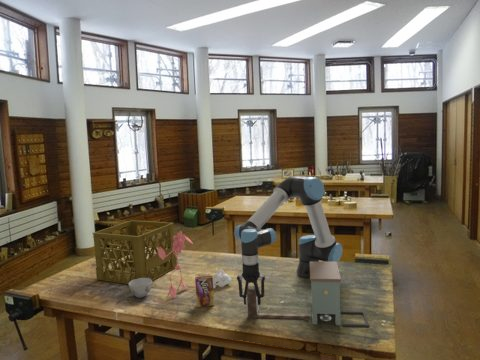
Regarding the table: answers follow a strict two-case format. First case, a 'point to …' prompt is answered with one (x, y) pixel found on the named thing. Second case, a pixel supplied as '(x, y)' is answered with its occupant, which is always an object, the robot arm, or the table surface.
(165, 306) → the table surface
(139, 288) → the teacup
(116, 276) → the milk crate
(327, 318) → the steel disc
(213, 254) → the table surface
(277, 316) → the pusher stick
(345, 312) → the rubber bay
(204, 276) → the candy box
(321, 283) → the cabinet
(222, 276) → the crumpled paper ball
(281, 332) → the table surface
